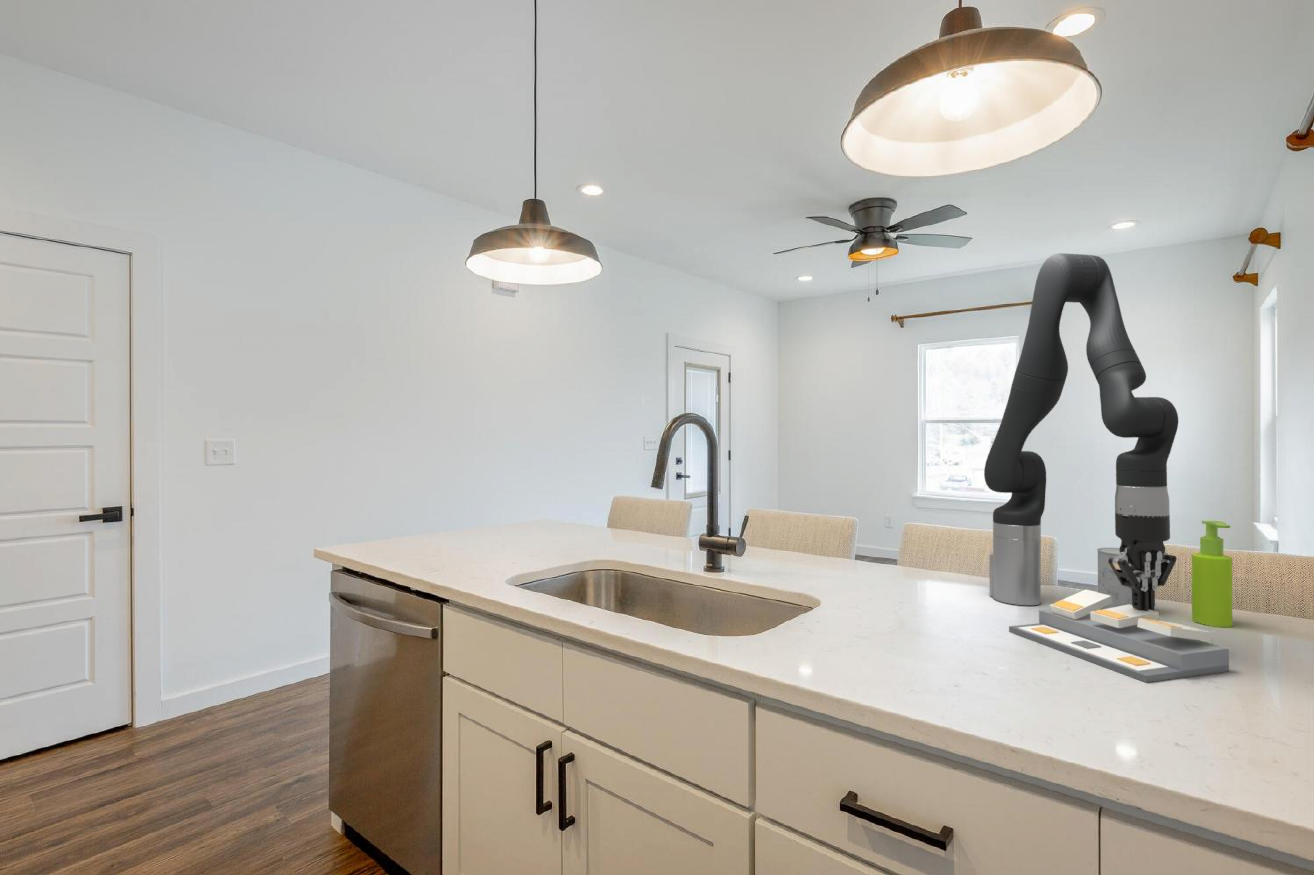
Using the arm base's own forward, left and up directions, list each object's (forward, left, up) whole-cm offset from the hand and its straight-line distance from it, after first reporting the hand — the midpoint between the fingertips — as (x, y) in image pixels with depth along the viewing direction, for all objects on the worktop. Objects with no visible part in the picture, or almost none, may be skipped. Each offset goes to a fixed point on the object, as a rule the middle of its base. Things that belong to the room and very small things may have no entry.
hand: (1143, 611), depth 108 cm
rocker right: (+8, -4, -1) cm, 9 cm away
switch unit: (0, -8, -6) cm, 10 cm away
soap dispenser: (-6, +26, -6) cm, 28 cm away
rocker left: (-8, -4, -1) cm, 9 cm away
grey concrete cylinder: (-18, +19, -6) cm, 27 cm away
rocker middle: (0, -4, -1) cm, 4 cm away
